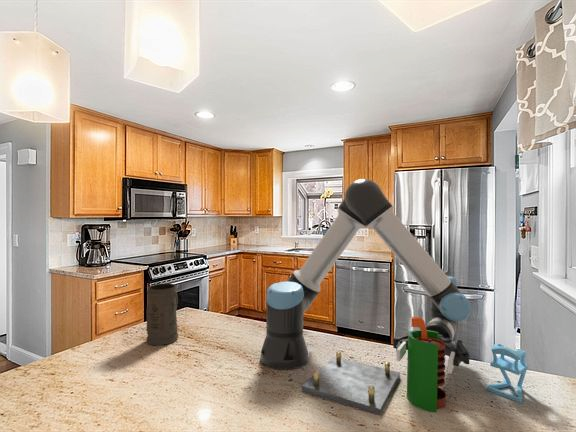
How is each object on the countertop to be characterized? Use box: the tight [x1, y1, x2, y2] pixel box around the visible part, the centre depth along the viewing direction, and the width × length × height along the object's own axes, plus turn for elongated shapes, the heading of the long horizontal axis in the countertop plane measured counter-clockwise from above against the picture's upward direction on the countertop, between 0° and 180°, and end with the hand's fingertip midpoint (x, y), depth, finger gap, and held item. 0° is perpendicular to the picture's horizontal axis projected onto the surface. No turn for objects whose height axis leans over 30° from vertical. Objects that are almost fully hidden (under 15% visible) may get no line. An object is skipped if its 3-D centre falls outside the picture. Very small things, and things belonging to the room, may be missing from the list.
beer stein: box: [146, 283, 179, 346], centre depth 120 cm, size 15×11×20 cm
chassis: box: [301, 350, 401, 417], centre depth 88 cm, size 20×21×4 cm
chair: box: [486, 343, 529, 403], centre depth 85 cm, size 8×8×12 cm
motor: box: [406, 316, 447, 413], centre depth 80 cm, size 10×9×20 cm
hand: (422, 361), depth 77 cm, fingers open, 11 cm apart
